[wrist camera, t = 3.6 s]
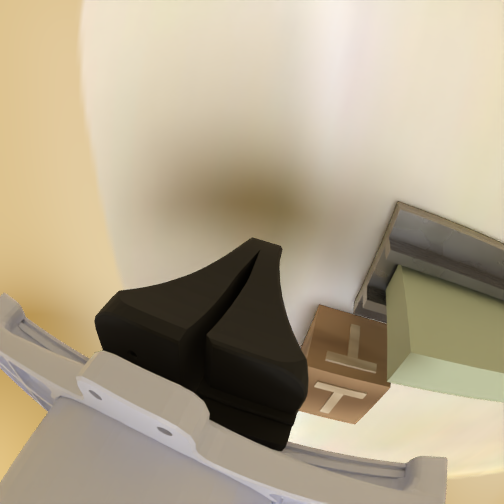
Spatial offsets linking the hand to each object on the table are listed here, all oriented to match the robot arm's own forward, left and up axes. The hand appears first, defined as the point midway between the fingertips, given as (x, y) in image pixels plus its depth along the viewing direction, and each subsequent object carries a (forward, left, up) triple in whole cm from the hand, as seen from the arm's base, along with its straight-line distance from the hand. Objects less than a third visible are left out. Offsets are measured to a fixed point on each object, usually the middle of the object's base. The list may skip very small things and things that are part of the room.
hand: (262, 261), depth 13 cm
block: (+1, -10, -4) cm, 11 cm away
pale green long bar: (+11, -8, -3) cm, 14 cm away
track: (+15, -10, -4) cm, 19 cm away
